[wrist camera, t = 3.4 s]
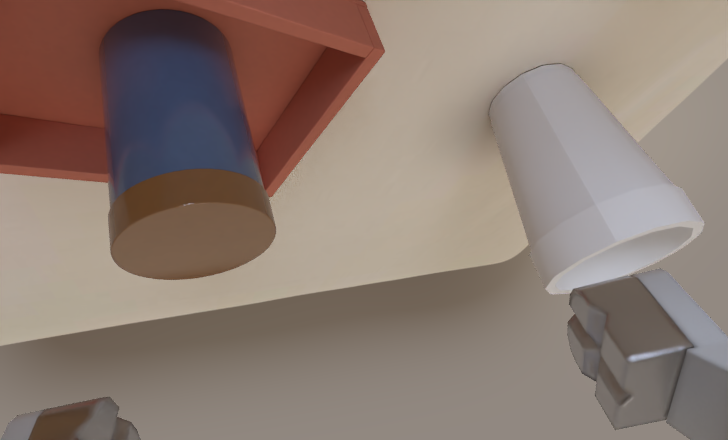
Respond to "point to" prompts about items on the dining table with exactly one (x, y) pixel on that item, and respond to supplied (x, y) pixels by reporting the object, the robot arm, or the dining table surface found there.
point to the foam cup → (584, 183)
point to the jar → (179, 150)
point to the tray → (251, 55)
